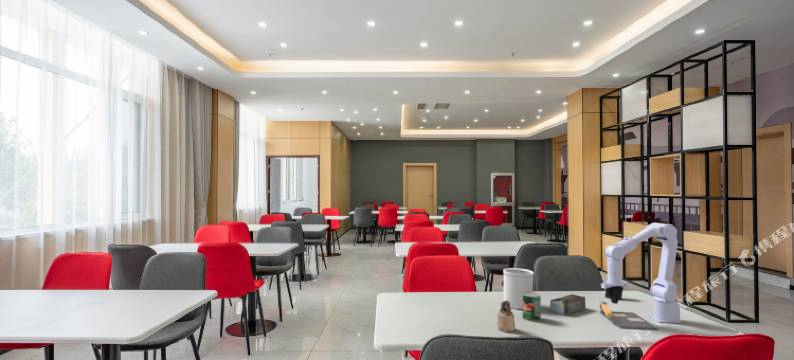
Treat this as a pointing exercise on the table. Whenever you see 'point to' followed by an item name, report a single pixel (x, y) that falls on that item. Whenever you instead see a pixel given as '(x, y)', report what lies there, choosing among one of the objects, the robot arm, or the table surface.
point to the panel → (629, 320)
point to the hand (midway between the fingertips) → (614, 303)
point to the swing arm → (605, 308)
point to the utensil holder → (517, 285)
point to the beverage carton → (567, 304)
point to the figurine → (506, 318)
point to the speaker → (609, 295)
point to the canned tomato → (531, 306)
